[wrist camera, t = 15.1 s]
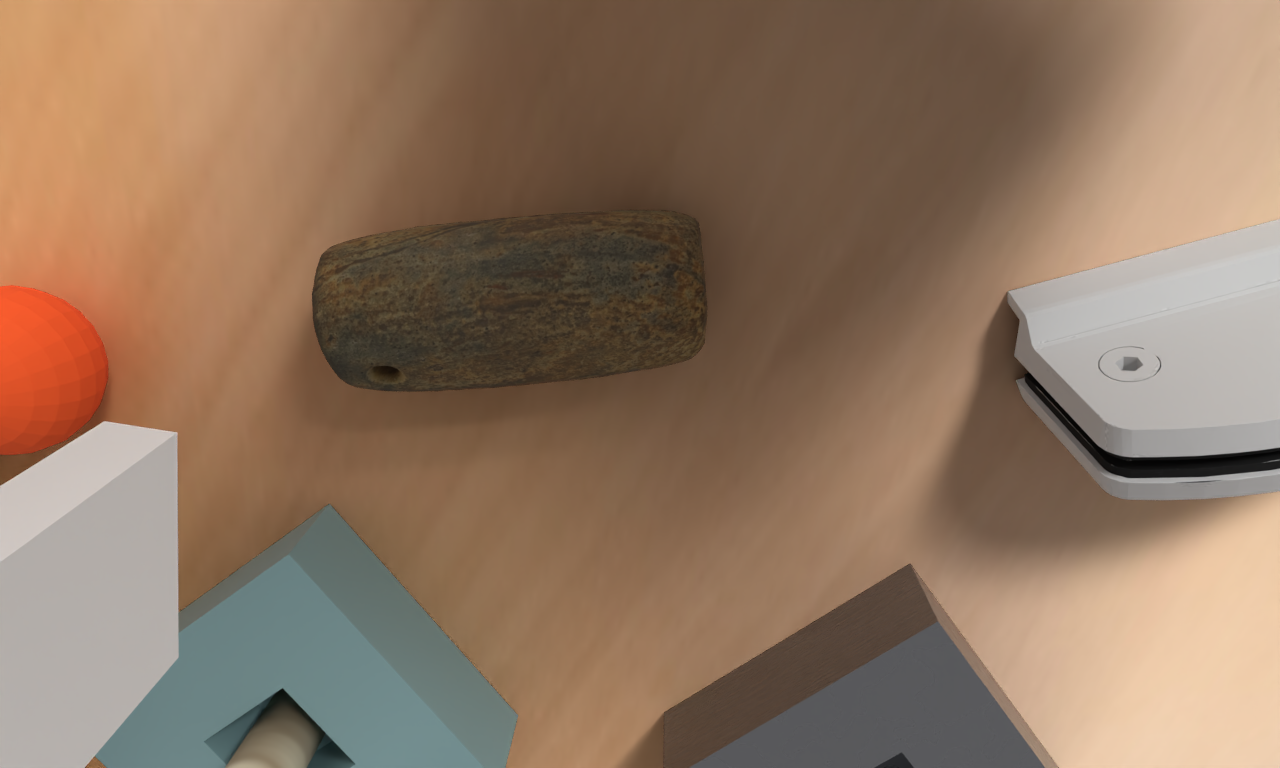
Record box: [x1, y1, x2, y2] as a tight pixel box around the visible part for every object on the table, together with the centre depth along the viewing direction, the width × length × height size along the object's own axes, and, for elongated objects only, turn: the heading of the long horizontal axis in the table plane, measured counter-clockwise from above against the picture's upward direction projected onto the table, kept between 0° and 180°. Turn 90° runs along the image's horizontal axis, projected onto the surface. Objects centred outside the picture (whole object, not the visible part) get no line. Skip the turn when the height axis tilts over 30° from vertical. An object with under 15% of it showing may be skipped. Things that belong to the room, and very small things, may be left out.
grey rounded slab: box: [1007, 219, 1280, 500], centre depth 38 cm, size 17×5×10 cm, turn 106°
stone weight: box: [312, 210, 707, 391], centre depth 39 cm, size 15×7×7 cm, turn 99°
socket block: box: [95, 504, 518, 768], centre depth 46 cm, size 14×14×5 cm
